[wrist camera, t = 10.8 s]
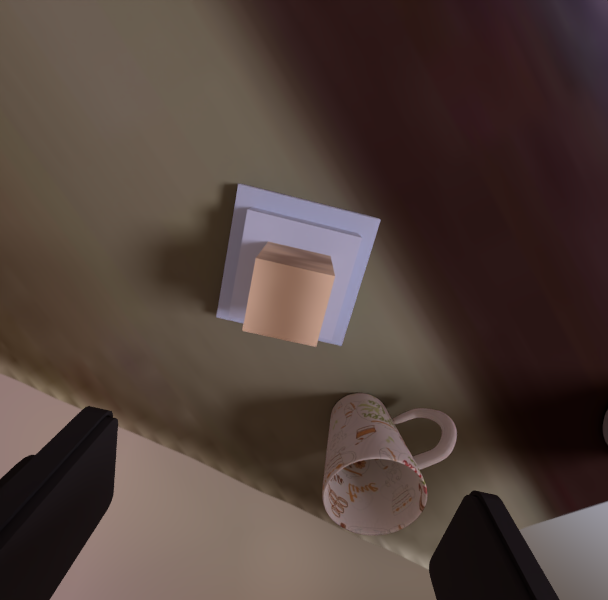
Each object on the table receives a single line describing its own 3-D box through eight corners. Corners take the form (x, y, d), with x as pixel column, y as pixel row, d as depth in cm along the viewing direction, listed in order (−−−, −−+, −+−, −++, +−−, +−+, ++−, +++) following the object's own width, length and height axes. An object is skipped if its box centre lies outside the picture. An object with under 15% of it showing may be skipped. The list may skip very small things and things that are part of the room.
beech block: (330, 255, 26) (335, 276, 21) (315, 313, 28) (316, 346, 22) (268, 241, 26) (255, 257, 20) (256, 300, 28) (242, 330, 22)
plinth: (377, 217, 29) (387, 223, 25) (340, 338, 33) (343, 359, 29) (242, 183, 29) (231, 183, 25) (220, 311, 32) (208, 328, 29)
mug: (306, 401, 36) (304, 479, 26) (419, 354, 34) (460, 422, 24) (339, 456, 38) (348, 547, 29) (446, 416, 36) (494, 500, 26)
